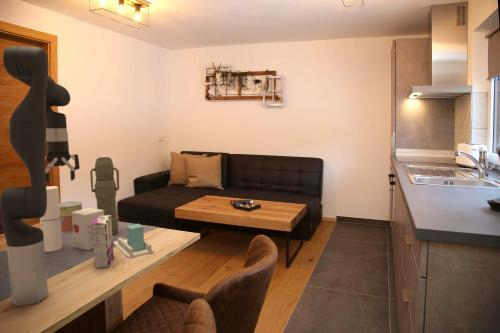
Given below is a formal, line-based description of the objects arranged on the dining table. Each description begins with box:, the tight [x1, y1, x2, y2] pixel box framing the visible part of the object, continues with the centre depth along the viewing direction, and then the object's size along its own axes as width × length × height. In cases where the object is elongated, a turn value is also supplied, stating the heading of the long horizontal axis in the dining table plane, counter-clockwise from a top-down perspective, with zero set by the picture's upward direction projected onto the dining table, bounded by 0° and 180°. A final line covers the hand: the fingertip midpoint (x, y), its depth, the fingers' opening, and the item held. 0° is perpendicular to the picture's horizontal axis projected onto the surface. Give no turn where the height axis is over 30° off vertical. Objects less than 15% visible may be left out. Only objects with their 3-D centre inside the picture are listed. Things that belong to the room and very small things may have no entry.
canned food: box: [59, 200, 83, 233], centre depth 175 cm, size 11×11×12 cm
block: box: [126, 223, 145, 251], centre depth 146 cm, size 5×5×9 cm
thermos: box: [89, 156, 120, 237], centre depth 165 cm, size 9×12×35 cm
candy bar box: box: [92, 215, 115, 269], centre depth 134 cm, size 11×5×16 cm, turn 12°
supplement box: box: [72, 207, 104, 251], centre depth 151 cm, size 9×9×15 cm
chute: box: [113, 237, 155, 259], centre depth 149 cm, size 20×10×3 cm, turn 36°
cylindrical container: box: [39, 185, 63, 253], centre depth 148 cm, size 7×7×25 cm
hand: (60, 181), depth 144 cm, fingers open, 8 cm apart
